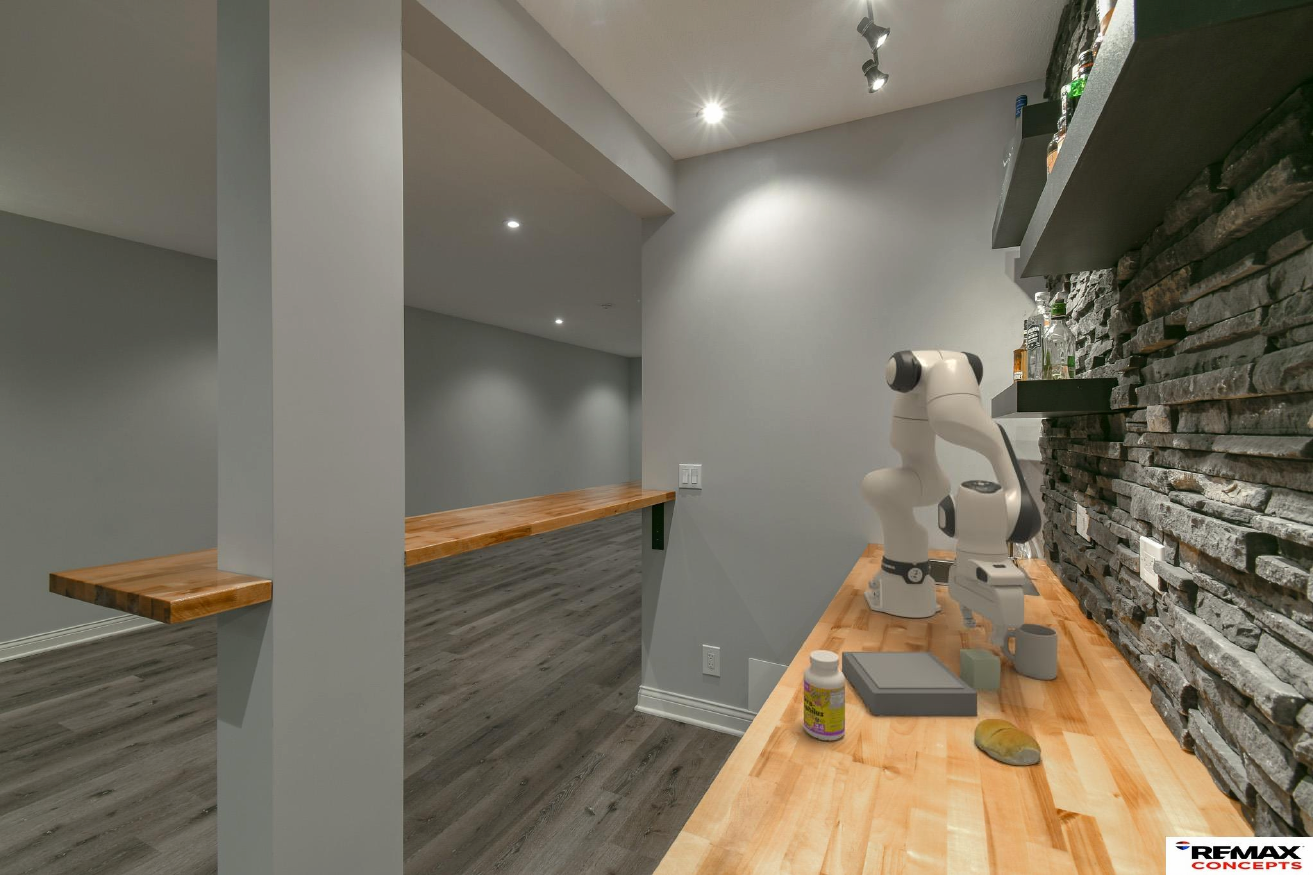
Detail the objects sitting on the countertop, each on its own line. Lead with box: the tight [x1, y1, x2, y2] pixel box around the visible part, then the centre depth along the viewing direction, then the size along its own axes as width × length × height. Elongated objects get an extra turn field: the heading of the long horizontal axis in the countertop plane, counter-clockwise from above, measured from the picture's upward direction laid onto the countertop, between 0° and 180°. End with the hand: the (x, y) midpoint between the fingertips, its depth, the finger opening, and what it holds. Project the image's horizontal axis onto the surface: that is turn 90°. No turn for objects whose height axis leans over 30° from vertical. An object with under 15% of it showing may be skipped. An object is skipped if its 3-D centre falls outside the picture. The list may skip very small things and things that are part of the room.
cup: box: [999, 622, 1058, 681], centre depth 116 cm, size 7×10×9 cm
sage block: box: [959, 648, 1001, 691], centre depth 111 cm, size 5×5×6 cm
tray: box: [841, 651, 978, 717], centre depth 108 cm, size 18×18×4 cm
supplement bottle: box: [803, 649, 846, 742], centre depth 94 cm, size 7×7×13 cm
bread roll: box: [973, 718, 1042, 766], centre depth 89 cm, size 8×9×4 cm
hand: (982, 635), depth 110 cm, fingers open, 8 cm apart
